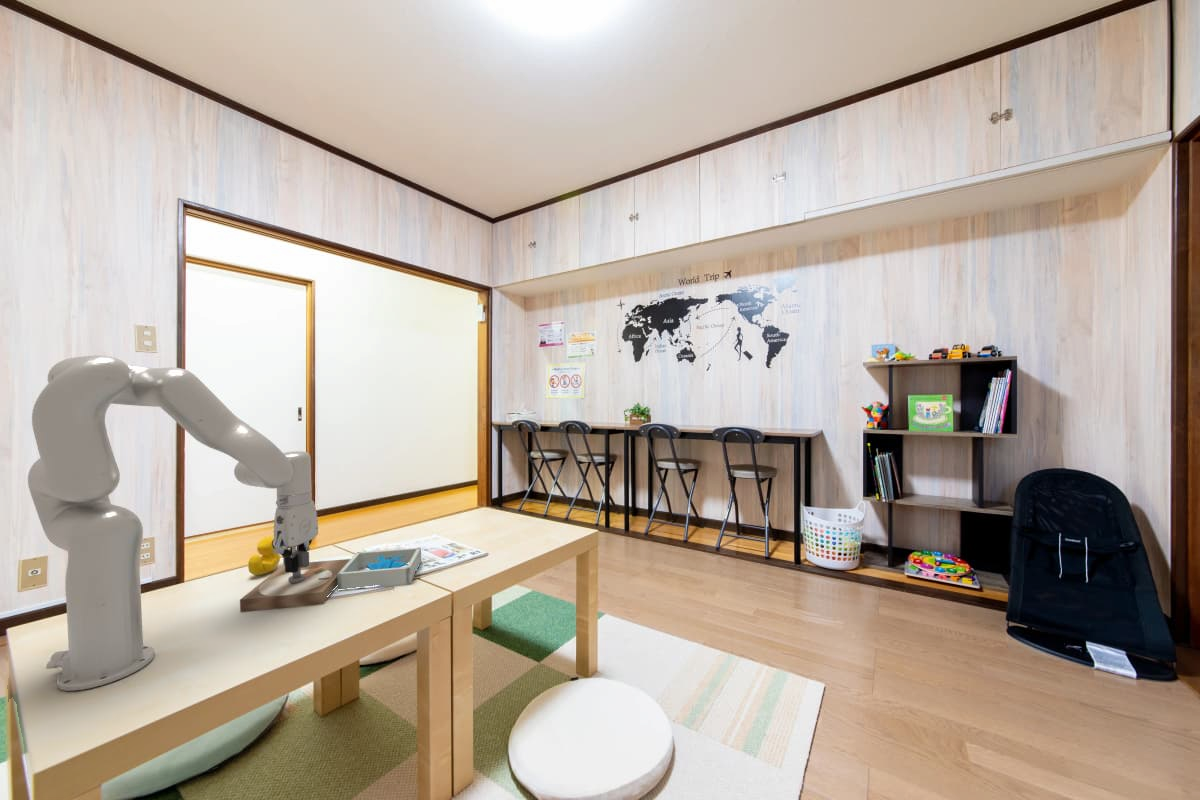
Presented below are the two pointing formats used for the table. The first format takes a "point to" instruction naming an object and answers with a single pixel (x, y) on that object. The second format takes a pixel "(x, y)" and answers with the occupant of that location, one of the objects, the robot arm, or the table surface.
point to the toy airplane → (386, 563)
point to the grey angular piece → (302, 562)
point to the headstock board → (294, 587)
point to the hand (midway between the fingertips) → (296, 568)
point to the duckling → (264, 558)
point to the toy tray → (382, 577)
